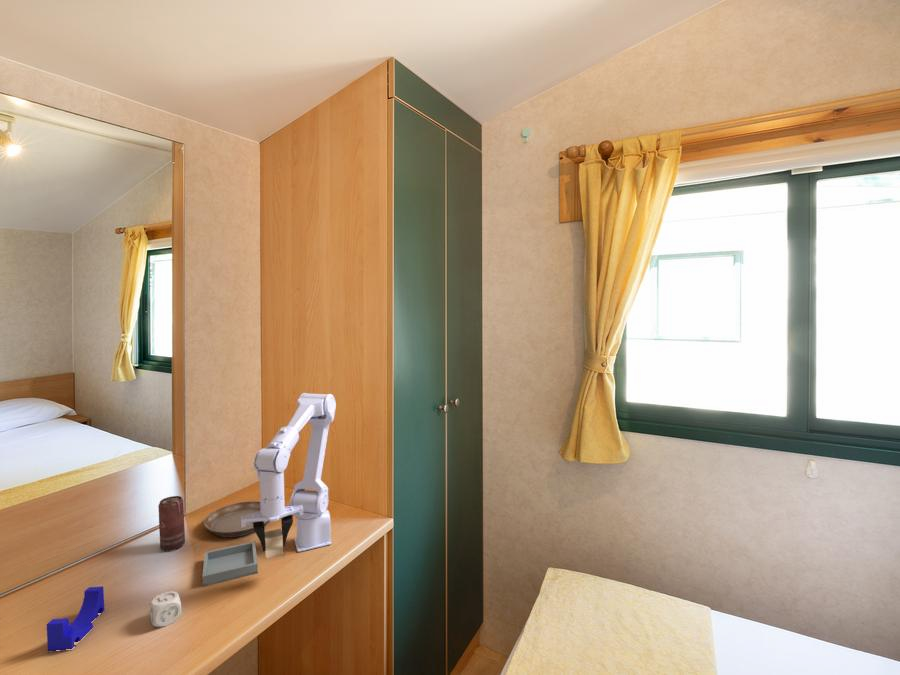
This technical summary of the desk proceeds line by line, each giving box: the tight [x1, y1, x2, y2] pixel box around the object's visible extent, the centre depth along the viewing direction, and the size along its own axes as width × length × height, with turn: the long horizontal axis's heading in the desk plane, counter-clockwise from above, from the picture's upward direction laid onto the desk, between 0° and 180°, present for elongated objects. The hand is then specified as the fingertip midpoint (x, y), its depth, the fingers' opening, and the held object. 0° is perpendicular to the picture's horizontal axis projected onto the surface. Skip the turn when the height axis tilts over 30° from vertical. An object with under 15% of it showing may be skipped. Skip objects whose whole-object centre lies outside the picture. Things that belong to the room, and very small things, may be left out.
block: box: [264, 528, 284, 559], centre depth 112 cm, size 4×4×5 cm
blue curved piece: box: [46, 585, 105, 652], centre depth 95 cm, size 12×4×6 cm, turn 6°
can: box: [158, 495, 186, 552], centre depth 128 cm, size 6×6×14 cm
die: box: [149, 590, 182, 628], centre depth 98 cm, size 5×5×5 cm
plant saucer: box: [203, 500, 270, 538], centre depth 142 cm, size 21×21×3 cm
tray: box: [201, 540, 259, 587], centre depth 118 cm, size 13×13×2 cm
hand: (273, 547), depth 112 cm, fingers closed on block, 4 cm apart
